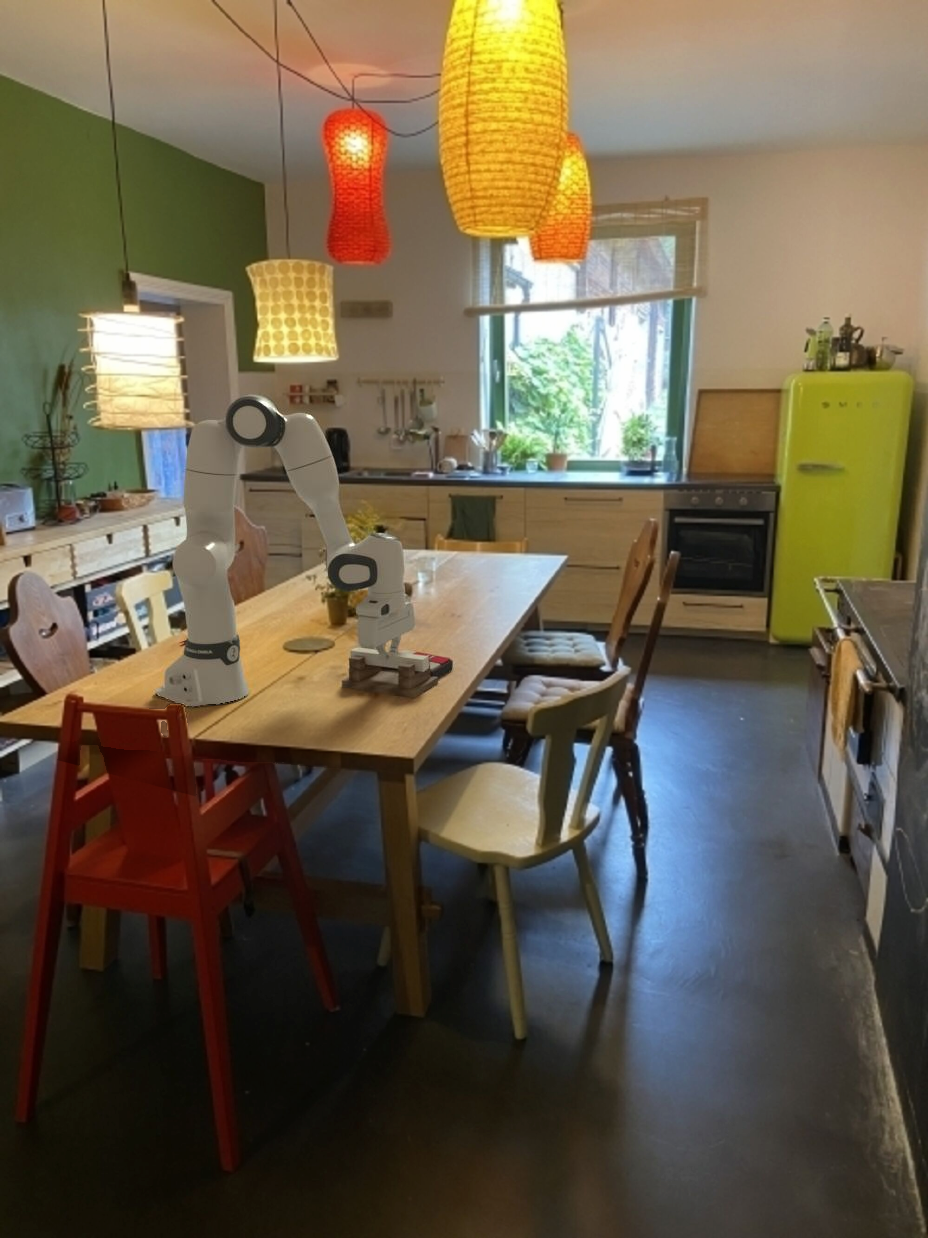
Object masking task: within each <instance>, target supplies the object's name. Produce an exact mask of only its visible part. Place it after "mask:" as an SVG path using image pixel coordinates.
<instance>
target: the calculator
mask: <svg viewBox="0 0 928 1238" xmlns="http://www.w3.org/2000/svg"><path fill="white" fill-rule="evenodd" d="M398 652H399V653H407V654H415V655H423V656H429V661H430V676H433V677H438V679H440V678H442V677H443V676H445V675H446V673H447V674H448V673H450V672H452V671H453V670H452V669H453V668H454V667H453V665H454V661H453V659H451V657H446V656H441V655H436V654H431V653H425V652H420V651H416V652H415V651H412V650H406V649H402V650H401V651H398ZM382 669H388V670H395V671H398V668H390V667H383V666H382ZM451 670H452V671H451ZM449 671H450V672H449ZM441 676H442V677H441Z"/></svg>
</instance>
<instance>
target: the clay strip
mask: <svg viewBox="0 0 928 1238" xmlns="http://www.w3.org/2000/svg"><path fill="white" fill-rule="evenodd" d="M375 649H376V648H375ZM375 649H367V648H362V647H360V646H359V647H357V646H356V647H355V648H352V649H351V650H350V651H349V652H350V654H349V655H350V657H352V656H354V655H355V656H362V657H365V664H368V665H375V666H383V667H390V668H398V665H400V664H402V663H409V664H415V671H421V672H424V671H425V670H427V669H428V668H429V656H423V655H415V654H407V653H399V652H400V651H398V652H391V651H389V650H386V652H388V659H386V660H380V659H379V653H378V651H377V650H375Z"/></svg>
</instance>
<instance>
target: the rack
mask: <svg viewBox="0 0 928 1238" xmlns="http://www.w3.org/2000/svg"><path fill="white" fill-rule="evenodd" d="M373 649H375V650H377V649H376V647H375V648H373ZM348 664H349V666H348V677H346V678H343V679H342V680H341V686H342V687H344V688H349V689H351V688H352V689H355V690H362V691H368V692H374V693H378V694H379V693H380V694H384V695H385V694H386V695H392V696H397V697H404V698H410V699H414V698H416V697H417V696H419V695H421V694H423V693H425V692H426V691H427V690H429V689H430V688H432V687H435V685H437V684H439V678H438V677H433V676H430V661H429V668H428V669H427V670H425V671H424V672H421V671H415V664H409V663H402V664H400V665H398V671H395V670H388V669H382V666H375V665H368V664H365V657H362V656H355V655H354V656H352V657H351V656H350V657H349V658H348Z"/></svg>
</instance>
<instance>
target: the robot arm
mask: <svg viewBox="0 0 928 1238" xmlns="http://www.w3.org/2000/svg"><path fill="white" fill-rule="evenodd" d="M244 447H249V448H264V447H265V448H274V449H276V451H277V452H278V454H279V457H280V458H281V461H282V463H283V467H284V470H285V472H286V475H287V477H288V480H289V481H290V484H291V486H292V487H293V490H294V491H295V492H296V494H297V496H298V498H299V499H300V500H302V502H304V503H305V504H306V505H307V506H308V507H309V508H310V510H311V511H312V513H313V515H314V516H315V519H316V522H317V525H318V527H319V530H320V532H321V535H322V537H323V539H324V540H323V541H324V543H325V550H326V551H325V567H326V570H327V571H326V572H327V577H328V581H329V582H330V584H331V585H332V586H333V587H335V588H336V590H339V591H342V592H354V591H358V590H363V589H367V594H366V595H365V597H364V598H363V600H361V601H360V603H358V604H357V606H356V607H355V613H356V615H358V618H357V622H356V624H357V625H356V626H357V631H356V632H357V642H358V645H359V647H360V648H367V649H373V648H375V649H377V651H378V653H379V659H380V660H386V659H388V652H386V651H387V650H386V646H387V643H388V642H390V641H391V643H390V647H388V651H391V652H399V646H400V644H401V640H402V638H401V637H402V636H403V635H404V634H407V633H410V632H411V631H413V630H414V629H415V625H416V617H415V610H414V605H413V603H412V602H411V601H412V600H411V597H410V596H409V595H408V594H407V593H406V587H405V582H404V574H405V557H404V549H403V545H402V542H401V540H399V538H398V537H396V536H394V535H392V534H389V533H384V532H372V533H369V534H368V536H366V537H365V538H364V539H362V540H360V541H359V542H356V541H355V540H354V539H353V537H352V536H351V534H350V530H349V528H348V525H347V522H346V519H345V517H344V515H343V512H342V509H341V505H340V499H339V495H340V494H339V491H340V479H339V475H338V470H337V465H336V462H335V458H334V456H333V453H332V450H331V448H330V445H329V443H328V441H327V438H326V436H325V435H324V432H323V430H322V428H321V427H320V425H319V423H318V422H317V420H316V418H315V417H314V416H312V415H310V414H308V413H305V412H296V413H295V412H294V413H292V414H282V413H281V412H280V411H279V408H278V406H277V405H276V404H275V402H274V401H273V400H272V399H270V398H269V397H268V396H265V395H263V394H260V393H259V394H258V393H246V394H244V395H241V396H239V397H238V398H237V399H235V400H233V402H232V403H231V404H230V406H229V407H228V408H227V410H226V414H225V417H224V418H222V419H218V420H217V419H207V420H202V421H200V422H198V423H196V424H195V425H194V426H193V428H192V430H191V433H190V437H189V441H188V446H187V452H186V459H185V469H184V484H183V485H184V487H183V503H182V504H183V509H184V512H185V521H186V522H185V523H186V524H185V525H186V537H185V540H183V541H182V542H180V544H179V545H178V546H177V547H176V549H175V551H174V554H173V558H172V569H173V572H174V573H173V574H175V576H176V579H177V583H178V584H177V585H178V587H179V590H180V591H179V592H180V594H181V597H182V601H183V605H184V612H185V613H184V614H185V622H186V630H187V638H186V639H185V640H182V641H179V643H178V644H180V645H179V647H180V648H181V647H184V648H183V654H182V655H180V656H179V657H178V658H177V659H176V660H175V661H174V662H172V663H171V664H170V665H169V666H168V667H167V668H166V670H165V672H164V684H163V685H161V686H159V687H158V688H157V689H156V690H155V691H154V695H155V694H157V695H160V696H163V697H165V698H168V699H171V700H174V701H175V702H174V703H176V704H178V703H184V705H185V707H187V706H186V705H188V706H198V705H203V706H205V705H204V704H216V705H221V704H220V703H223V704H226V703H225V702H229V703H231V702H230V701H233V702H235V701H234V700H236V701H239V700H241V699H243V698H244V696H245V697H246V696H248V695H249V693H250V690H249V687H248V682H247V679H246V678H245V674H244V667H243V663H242V658H241V655H240V654H241V640H240V636H239V634H238V632H237V631H238V630H237V629H238V628H237V621H236V620H237V619H236V618H237V617H236V608H235V601H234V599H233V597H232V593H231V589H230V583H229V579H228V569H229V568H230V567H231V565H232V564H233V562H234V559H235V556H236V523H235V520H236V519H235V518H236V517H235V502H236V501H235V500H236V489H237V475H238V463H239V456H240V453H241V450H242V449H243V448H244ZM238 699H239V700H238ZM184 705H183V706H184ZM198 707H199V706H198Z"/></svg>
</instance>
